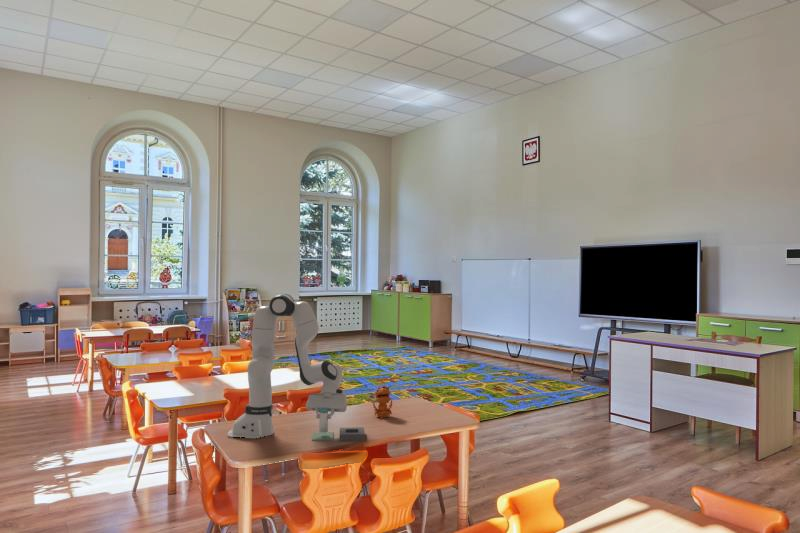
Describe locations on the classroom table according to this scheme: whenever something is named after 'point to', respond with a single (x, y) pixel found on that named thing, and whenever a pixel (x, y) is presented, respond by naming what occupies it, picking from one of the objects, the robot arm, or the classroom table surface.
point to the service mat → (322, 436)
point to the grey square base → (352, 434)
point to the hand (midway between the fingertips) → (323, 418)
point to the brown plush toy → (383, 402)
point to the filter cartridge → (323, 420)
